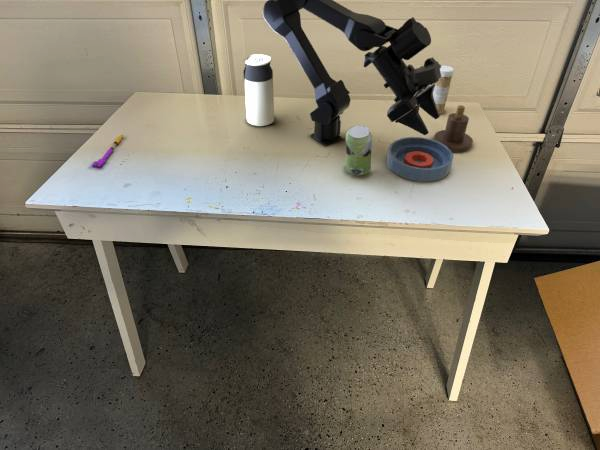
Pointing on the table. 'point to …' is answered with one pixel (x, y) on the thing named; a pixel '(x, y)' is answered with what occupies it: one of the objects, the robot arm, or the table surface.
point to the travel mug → (259, 90)
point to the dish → (411, 144)
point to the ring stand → (455, 132)
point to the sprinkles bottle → (442, 88)
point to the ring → (418, 156)
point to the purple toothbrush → (107, 154)
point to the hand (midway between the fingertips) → (432, 125)
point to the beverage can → (358, 150)
